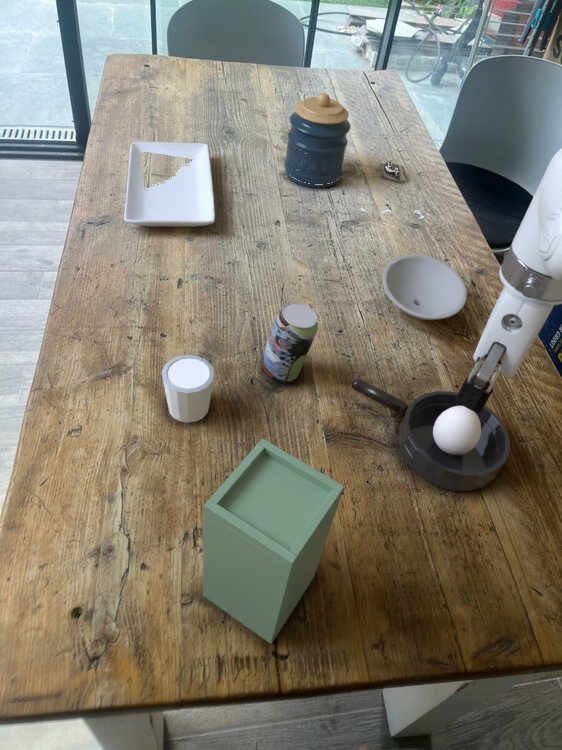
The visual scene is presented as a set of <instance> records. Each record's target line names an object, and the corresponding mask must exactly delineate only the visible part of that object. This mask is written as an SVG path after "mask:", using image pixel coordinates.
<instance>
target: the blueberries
mask: <svg viewBox="0 0 562 750" xmlns="http://www.w3.org/2000/svg"><path fill="white" fill-rule="evenodd" d="M388 163H390V164H389V166H391V163H392V166H391V167H389V169H391V170H395V167H396V168H398V171H399V172H398V173H397V174H395V173H396V172H389V171H387V170H386V168H385V167H386V166H387V165H388ZM387 167H388V166H387ZM379 169H380V171H381V172H380V173H381V174H382V176H383V178H386V179H387V180H393V181H395V182H398V183H403V182H405V181H407V178H406V175H404V174H405V172H404V171H405V169H404V166H402V165H401V164H397V163H396V164H395V163H394V162H392V161H389V162H387V161H386V162H385V163H381V162H380V163H379ZM395 171H397V170H395Z"/></svg>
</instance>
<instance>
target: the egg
mask: <svg viewBox="0 0 562 750" xmlns="http://www.w3.org/2000/svg"><path fill="white" fill-rule="evenodd" d="M480 435H481V424H480V420H479V418H478V416H477V414H476V413H475V412H474V411H472V410H470V409H468V408H466V407H464V406H455V407H451V408H449V409H447V410H445V411H444V412H442V413H441V415H440V416H439V417H438V418H437V420H436V422H435V424H434V427H433V437H434V440H435V442H436V444H437V445H438V447H439V448H440V449H441V450H442V451H444V452H446V453H448V454H451V455H462V454H465V453H467V452H469V451H471V450H472V449H473V448H474V447H475V446H476V444H477V443H478V441H479V439H480Z"/></svg>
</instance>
